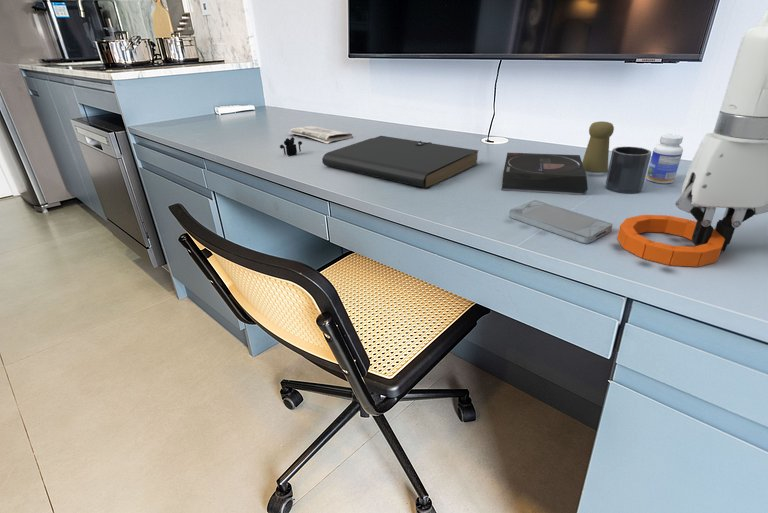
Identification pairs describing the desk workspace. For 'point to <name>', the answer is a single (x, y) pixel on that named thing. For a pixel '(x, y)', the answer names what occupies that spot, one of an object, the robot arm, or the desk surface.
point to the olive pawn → (598, 147)
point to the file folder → (403, 160)
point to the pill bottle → (665, 159)
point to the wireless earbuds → (290, 147)
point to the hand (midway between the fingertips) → (708, 246)
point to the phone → (561, 221)
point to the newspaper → (320, 133)
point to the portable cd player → (544, 173)
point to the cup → (627, 169)
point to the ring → (666, 252)
